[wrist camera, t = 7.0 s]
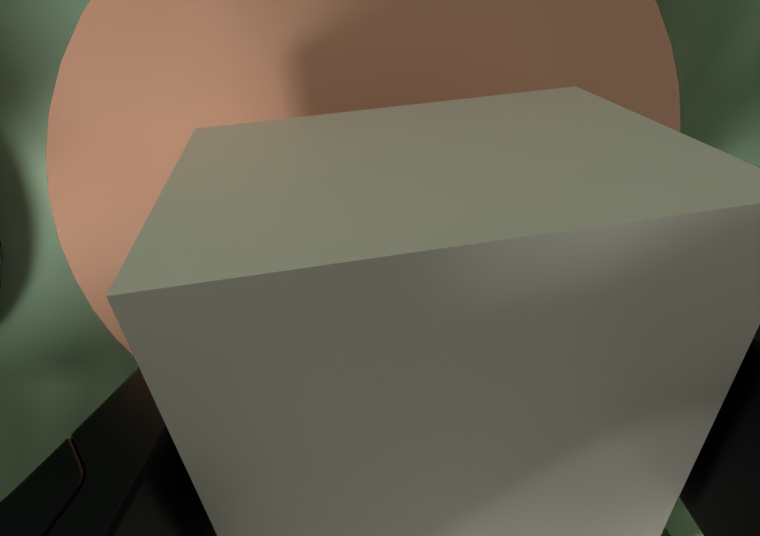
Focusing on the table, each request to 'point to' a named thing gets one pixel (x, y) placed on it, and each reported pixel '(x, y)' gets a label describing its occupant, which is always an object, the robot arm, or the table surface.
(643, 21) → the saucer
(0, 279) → the grey rounded piece
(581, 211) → the cream colored cube
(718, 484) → the robot arm
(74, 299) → the table surface
